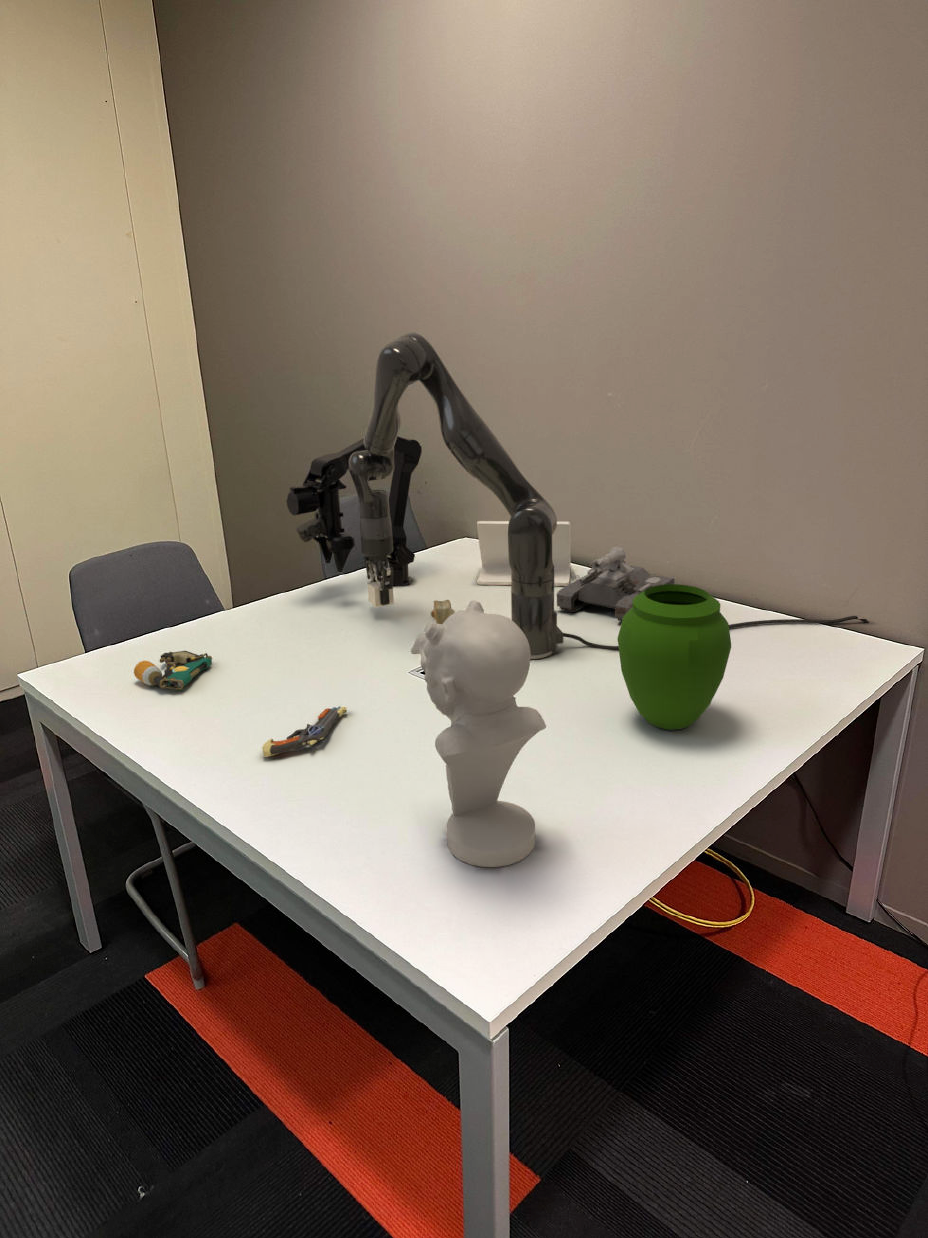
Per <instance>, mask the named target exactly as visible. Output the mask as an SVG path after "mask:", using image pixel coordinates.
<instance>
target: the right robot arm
mask: <svg viewBox="0 0 928 1238" xmlns="http://www.w3.org/2000/svg"><path fill="white" fill-rule="evenodd" d="M418 382H420V383H421V384H422V386H423V387H424V388H425V390H426V391H427V392H428V394H429V396H430V397H431V399H432V400H433V402H434V403H433V404H434V405H435V408H436V411H437V416H438V422H439V427H440V432H441V436H442V439H443V443H444V444H445V446H446V448H447V449H448V450H449V451H450V453H451V455H452V456H453V457H454V458H455V459H456V461H457V462H458V463H459V465H460V466H461V467H462V468H463V469H464V470H465V472H467V474H469V475H470V476H471V477H472V478H474V479H475V480H476V481H477V482H479V483H480V484H482V485H483V486H484V487H485V488H487V489H488V490H489V491H490V492H491V493H492V494H494V496H495V497H496V498H497V499H498V500H499V502H500V503H501V504H502V506H503V507H504V509H505V510H506V511H507V513H508V515H509V516H510V518H509V520H508V521H509V525H508V555H509V566H510V569H511V585H510V588H511V589H510V597H511V599H510V603H511V604H510V606H511V607H510V609H511V610H510V615H511V617H510V619H511V620H512V621H513V622H514V623H515V624H516V625H517V626H518V627H519V628H520V629H521V630H522V632H523V633H524V634H525V636H526V638H527V640H528V643H529V646H530V652H531V653H530V655H531V656H530V660H540V659H545V658H548V657H550V656H552V655H557V654H558V653H557V650H558V649H557V648H558V647H557V645H562V644H564V638H568V639H573V640H576V641H579V642H580V643H582V644H583V645H585V646H588V647H591V648H594V649H595V648H596V649H601V650H609V651H619V647H618V645H604V644H597V643H594V642H591V641H587V640H586V639H584V638H583V637H581V636H579V635H576V634H572V633H567V632H563V631H562V630H561V628H560V627H558V613H557V612H556V611H555V586H554V564H553V561H552V535H553V533H554V531H555V529H556V526H557V522H558V518H557V513H556V512H555V510H554V508H553V507H552V505H551V504H550V503H549V502H548V501H547V500H546V499H545V498H544V496H542V495H541V494H540V493H539V492H538V491H537V489H536V488H535V487H534V486H533V485H532V484H531V483H530V482H529V480H528V479H527V478H525V476H524V475H523V474H522V472H521V471H520V469H519V468H518V467H517V465H516V463H515V462H514V461H513V459H512V457H511V456H510V454H509V453H508V452H507V451H506V450H505V448H504V447H503V445H502V444H501V442H500V441H499V440H498V438H497V437H496V435H495V434H494V433H493V431H492V430H491V429H490V427H489V425H487V423H486V422H485V421H484V420H483V418H482V417H481V416H480V415H479V413H478V412H477V411H476V410H475V408H474V407H473V405H472V404H471V403H470V401H469V400H468V399H467V397H466V396H465V394H464V393H463V391H462V390H461V389H460V387H459V385H457V383H456V381H455V380H454V378H453V377H452V375H451V373H450V372H449V370H448V369H447V367H446V364H445V363H444V362H443V361H442V359H441V357H440V356H439V354H438V353H437V351H436V350H435V348H434V347H433V345H432V344H431V343H430V342H429V340H427V338H426V337H425V336H423V335H422V334H420V333H418V332H413V331H411V332H408V333H405V334H403V335H402V336H399V337H398V338H397V339H395V340H393V341H391V342H389V343H388V344H386V345H385V346H384V347H382V349H380V352H379V353H378V356H377V359H376V364H375V375H374V386H373V398H372V407H371V411H370V415H369V419H368V422H367V426H366V428H365V431H364V432H365V433H364V435H363V438H364V446H365V448H366V450H365V451H357V452H354V453H353V454H352V455H351V456H350V459H349V463H348V467H349V469H348V470H349V474H350V476H351V480H352V482H353V484H354V488H355V490H356V493H357V499H358V505H359V517H360V518H359V531H360V545H361V553H362V554H363V555H364V556H363V559H364V564H365V570H366V578H367V579H368V581H369V583H371V582H378V585H379V592H380V604H382V605H385V606H387V605H386V604H389V603H390V599H389V589H393V590H394V585H393V570H394V569H393V567H389V562H388V560H387V555H389V554H391V553H392V552H393V539H392V525H391V519H390V509H389V493H388V491H386V490H384V489H381V488H371V486H370V484H369V482H371V481H379V480H385V479H388V478H390V477H391V476H392V475H393V471H394V445H395V442H396V440H397V437H399V433H400V430H401V424H402V418H401V414H400V410H399V403H400V401H401V399H402V396H403V395H404V393H405V392H406V390H407V389H408V388H409V387H411V386H414V385H415V384H417V383H418ZM381 581H382V582H381ZM385 583H386V585H385ZM857 616H858V615H850V616H845V617H840V618H837V619H811V618H810V619H809V618H807V619H806V618H805V619H804V618H799V619H798V618H791V619H790V618H789V619H787V618H785V619H781V618H780V619H762V620H752V621H743V622H739V623H732V624H729V629H734V628H740V627H747V626H757V625H769V624H771V625H772V624H839V623H843V622H847V621H852V620H859V621H862V622H863V623H864V624H870V622H869V620H868V619H867V618H865V619H858V617H857Z"/></svg>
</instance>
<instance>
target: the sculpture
mask: <svg viewBox="0 0 928 1238" xmlns="http://www.w3.org/2000/svg"><path fill="white" fill-rule="evenodd" d="M455 612H456V611H455V609H453V608H452V602H451V601H450V599H445V600H433V610H431V612H430V617H431V618H432V619H433V620H434V621H435V622H436V623H435V624H443V623H444V622H445V620H446V619H447V618H448V617H450V616H451V615H452V614H453V613H455Z"/></svg>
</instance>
